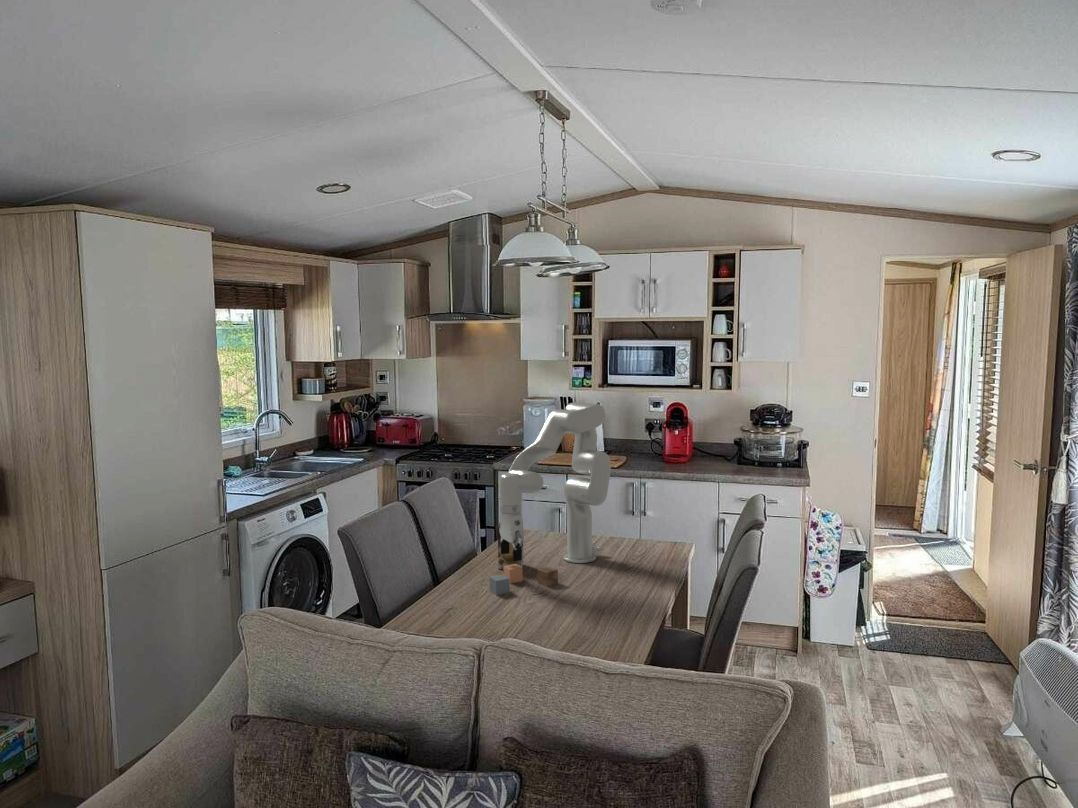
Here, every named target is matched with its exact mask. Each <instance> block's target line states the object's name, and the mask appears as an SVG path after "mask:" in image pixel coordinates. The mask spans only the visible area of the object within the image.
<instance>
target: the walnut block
mask: <svg viewBox="0 0 1078 808" xmlns="http://www.w3.org/2000/svg"><path fill="white" fill-rule="evenodd" d="M558 571H559V570H558V568H554V567H552V566H549V565H548V566H545V567H541V568H538V569H537V584H539V585H542V586H544V587H550V586H553V585H557V584H559V572H558Z"/></svg>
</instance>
